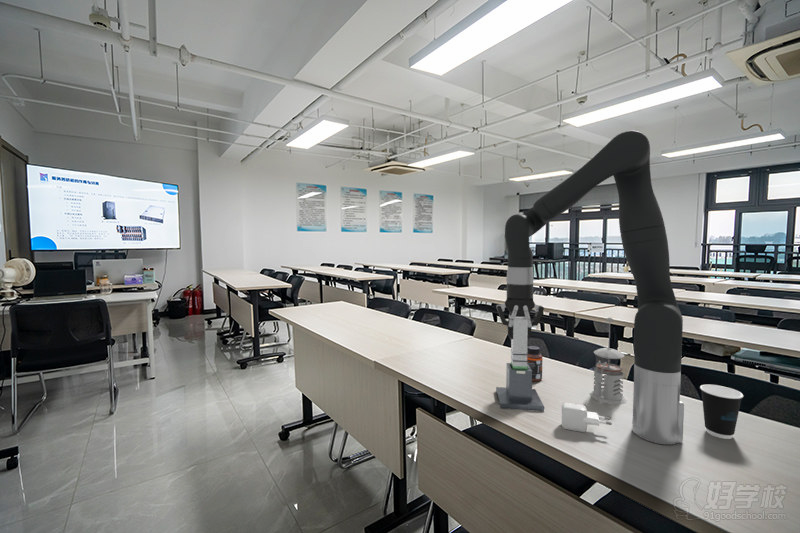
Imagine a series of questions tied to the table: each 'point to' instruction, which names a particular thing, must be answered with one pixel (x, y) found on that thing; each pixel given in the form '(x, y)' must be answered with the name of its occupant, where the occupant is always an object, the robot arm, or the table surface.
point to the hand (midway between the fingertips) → (519, 338)
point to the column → (519, 344)
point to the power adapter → (580, 417)
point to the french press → (608, 376)
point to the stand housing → (519, 391)
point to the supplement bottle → (535, 362)
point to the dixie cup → (720, 410)
